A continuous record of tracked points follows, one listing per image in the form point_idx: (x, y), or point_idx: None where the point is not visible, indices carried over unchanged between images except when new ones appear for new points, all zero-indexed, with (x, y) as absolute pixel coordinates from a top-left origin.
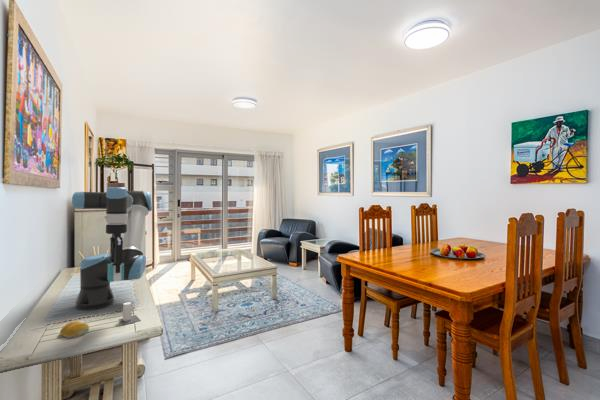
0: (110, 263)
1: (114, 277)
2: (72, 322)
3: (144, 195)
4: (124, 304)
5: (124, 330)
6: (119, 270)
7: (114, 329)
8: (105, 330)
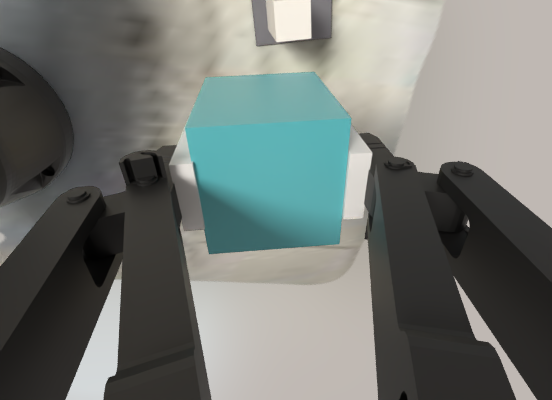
0: (209, 233)
1: None
2: None
3: None
4: (300, 37)
5: (384, 40)
6: (382, 147)
7: (347, 73)
8: None
